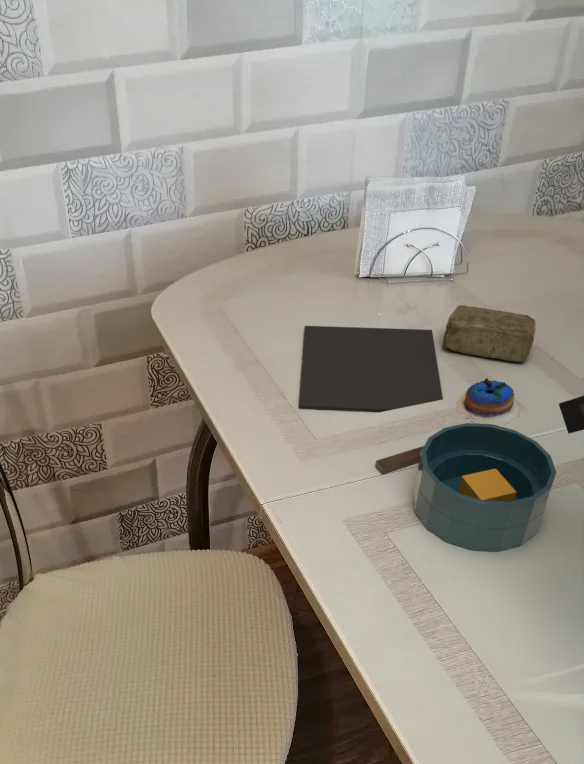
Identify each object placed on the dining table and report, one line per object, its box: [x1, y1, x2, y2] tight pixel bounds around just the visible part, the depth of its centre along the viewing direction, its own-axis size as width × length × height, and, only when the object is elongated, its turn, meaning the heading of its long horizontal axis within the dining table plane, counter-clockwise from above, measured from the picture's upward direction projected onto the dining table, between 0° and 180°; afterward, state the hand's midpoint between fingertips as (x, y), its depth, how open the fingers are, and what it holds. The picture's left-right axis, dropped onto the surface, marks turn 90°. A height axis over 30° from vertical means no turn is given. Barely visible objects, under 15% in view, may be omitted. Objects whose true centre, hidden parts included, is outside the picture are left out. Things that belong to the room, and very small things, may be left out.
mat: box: [298, 325, 444, 413], centre depth 107 cm, size 18×20×1 cm
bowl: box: [412, 422, 557, 553], centre depth 83 cm, size 13×13×7 cm
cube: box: [458, 469, 516, 502], centre depth 83 cm, size 4×4×4 cm
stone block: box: [442, 304, 537, 363], centre depth 108 cm, size 6×12×5 cm, turn 68°
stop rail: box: [374, 445, 424, 476], centre depth 92 cm, size 12×2×2 cm, turn 113°
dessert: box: [455, 377, 520, 427], centre depth 98 cm, size 8×7×6 cm
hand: (570, 416), depth 68 cm, fingers closed
